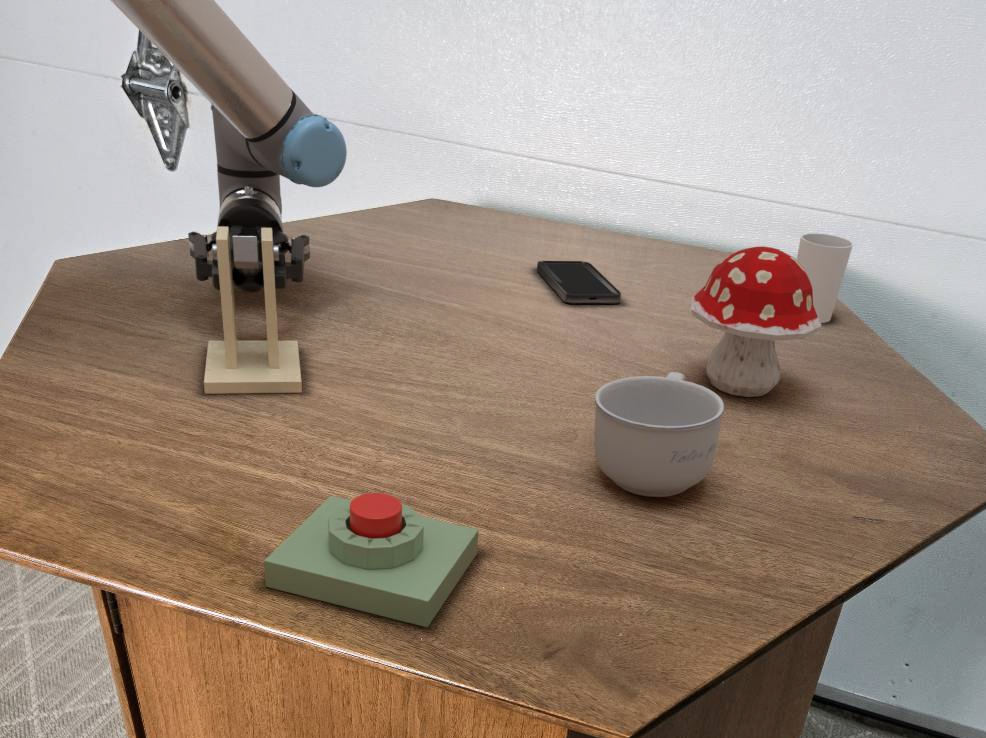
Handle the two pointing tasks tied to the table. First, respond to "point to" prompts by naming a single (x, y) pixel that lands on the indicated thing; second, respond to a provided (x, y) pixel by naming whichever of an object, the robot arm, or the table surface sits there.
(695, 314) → the decorative mushroom
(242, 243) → the lever
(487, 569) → the table surface
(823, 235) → the drinking glass
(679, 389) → the teacup
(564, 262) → the phone
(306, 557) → the control block
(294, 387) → the bracket
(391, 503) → the button
